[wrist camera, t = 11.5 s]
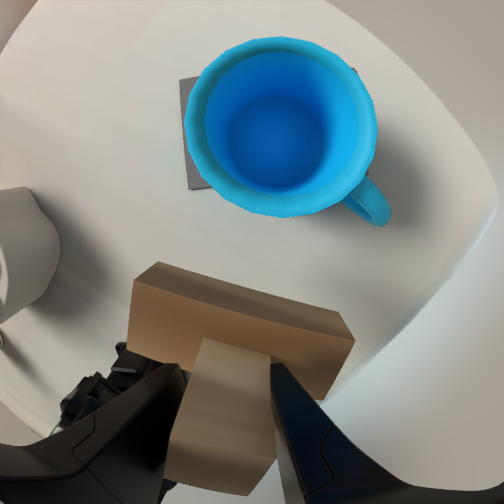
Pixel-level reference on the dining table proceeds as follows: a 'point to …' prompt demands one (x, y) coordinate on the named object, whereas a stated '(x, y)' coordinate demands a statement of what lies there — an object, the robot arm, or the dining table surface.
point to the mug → (285, 130)
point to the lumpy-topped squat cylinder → (24, 251)
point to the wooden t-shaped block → (229, 368)
